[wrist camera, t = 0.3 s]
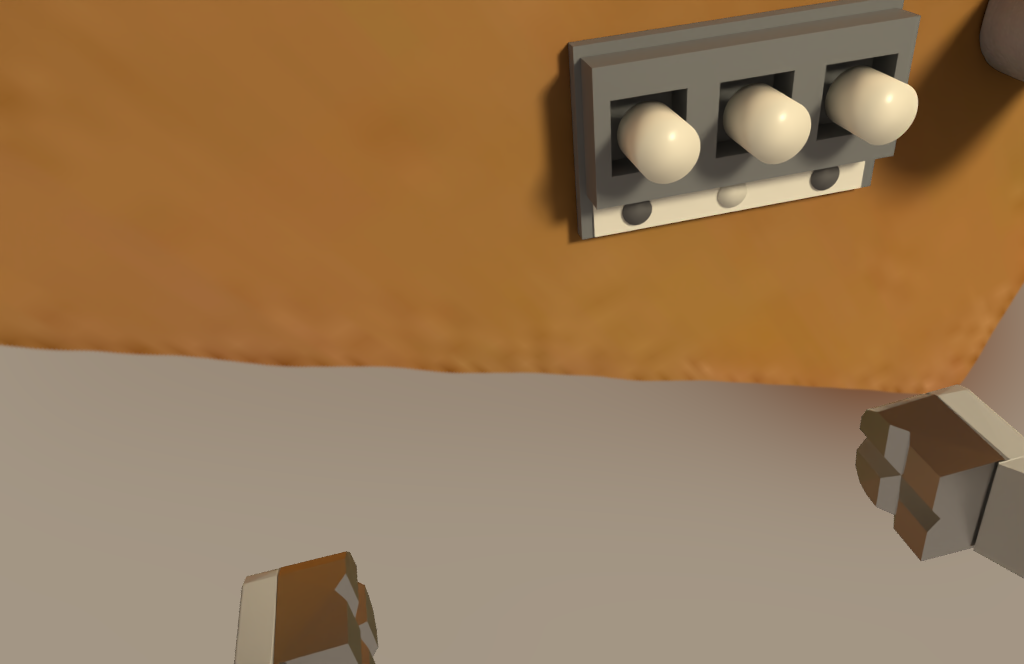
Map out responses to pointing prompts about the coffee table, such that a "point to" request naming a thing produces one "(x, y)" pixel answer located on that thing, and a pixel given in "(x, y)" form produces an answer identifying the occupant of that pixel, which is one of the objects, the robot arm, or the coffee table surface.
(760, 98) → the button
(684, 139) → the button
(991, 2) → the pillar candle
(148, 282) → the coffee table surface
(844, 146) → the board
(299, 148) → the coffee table surface
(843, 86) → the button
